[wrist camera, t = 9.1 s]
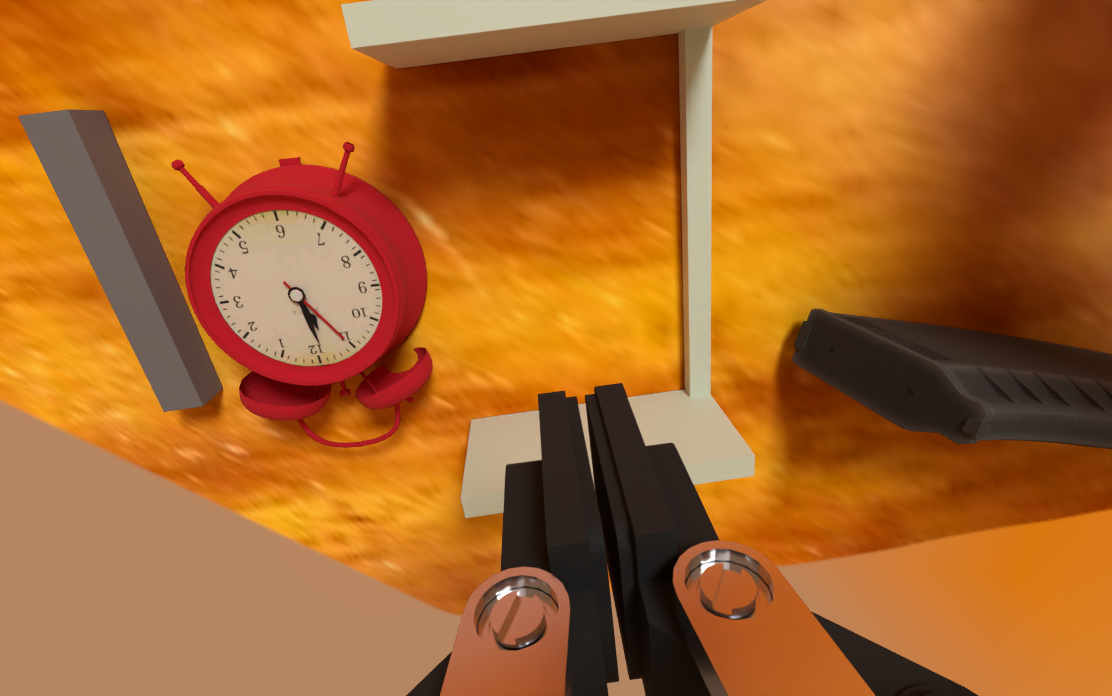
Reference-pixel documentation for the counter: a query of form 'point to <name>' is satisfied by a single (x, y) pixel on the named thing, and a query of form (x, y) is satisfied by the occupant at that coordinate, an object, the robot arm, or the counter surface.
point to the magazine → (962, 379)
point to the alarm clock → (309, 289)
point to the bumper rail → (124, 252)
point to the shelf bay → (690, 10)
